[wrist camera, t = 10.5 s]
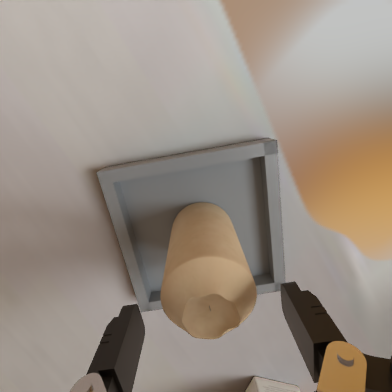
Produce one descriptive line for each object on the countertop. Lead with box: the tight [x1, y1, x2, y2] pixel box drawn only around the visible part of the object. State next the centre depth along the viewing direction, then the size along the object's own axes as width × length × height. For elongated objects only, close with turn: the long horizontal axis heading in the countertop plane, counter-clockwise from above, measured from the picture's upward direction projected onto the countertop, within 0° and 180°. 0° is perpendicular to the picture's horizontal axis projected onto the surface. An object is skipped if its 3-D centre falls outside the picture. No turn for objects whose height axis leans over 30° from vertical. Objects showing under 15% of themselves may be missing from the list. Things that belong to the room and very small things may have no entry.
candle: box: [160, 202, 257, 339], centre depth 17 cm, size 6×6×10 cm
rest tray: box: [97, 138, 285, 312], centre depth 21 cm, size 14×14×2 cm
